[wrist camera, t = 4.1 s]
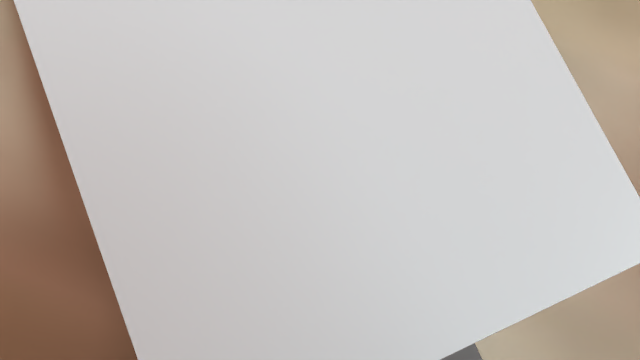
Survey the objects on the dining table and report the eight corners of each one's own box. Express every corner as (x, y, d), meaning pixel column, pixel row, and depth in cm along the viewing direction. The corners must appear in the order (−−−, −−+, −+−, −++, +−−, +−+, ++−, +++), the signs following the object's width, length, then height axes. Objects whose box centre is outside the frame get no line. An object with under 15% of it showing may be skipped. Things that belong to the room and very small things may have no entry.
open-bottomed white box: (402, 303, 16) (668, 249, 6) (227, 382, 15) (181, 484, 5) (329, 140, 17) (448, -150, 7) (160, 203, 15) (3, -29, 6)
